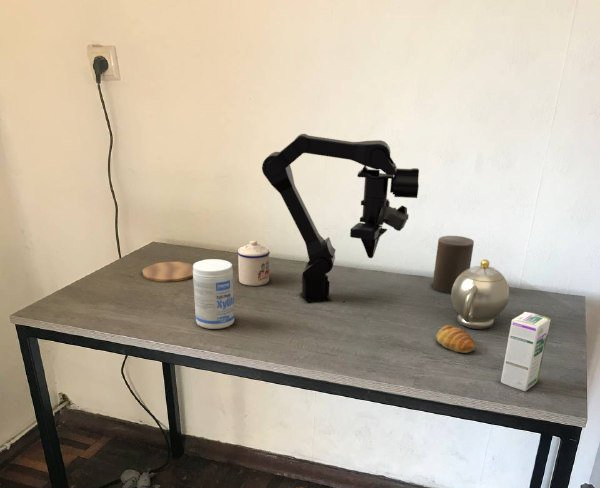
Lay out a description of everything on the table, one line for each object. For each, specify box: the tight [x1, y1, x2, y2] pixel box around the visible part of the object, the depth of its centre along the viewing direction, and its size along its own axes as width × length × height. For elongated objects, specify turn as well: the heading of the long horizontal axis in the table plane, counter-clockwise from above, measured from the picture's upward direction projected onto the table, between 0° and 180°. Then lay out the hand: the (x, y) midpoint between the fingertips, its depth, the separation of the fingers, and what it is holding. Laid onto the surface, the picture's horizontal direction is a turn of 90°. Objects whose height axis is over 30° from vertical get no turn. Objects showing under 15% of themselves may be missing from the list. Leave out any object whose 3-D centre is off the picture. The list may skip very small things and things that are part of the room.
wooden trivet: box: [142, 261, 194, 283], centre depth 188 cm, size 16×16×1 cm
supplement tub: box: [192, 258, 235, 330], centre depth 153 cm, size 10×10×15 cm
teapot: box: [450, 259, 510, 330], centre depth 154 cm, size 18×14×16 cm
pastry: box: [435, 324, 476, 354], centre depth 146 cm, size 9×7×4 cm
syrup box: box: [500, 311, 551, 392], centre depth 129 cm, size 6×6×14 cm
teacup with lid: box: [237, 240, 271, 287], centre depth 181 cm, size 12×9×12 cm
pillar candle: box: [432, 235, 475, 294], centre depth 178 cm, size 10×10×15 cm
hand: (370, 257), depth 165 cm, fingers closed
